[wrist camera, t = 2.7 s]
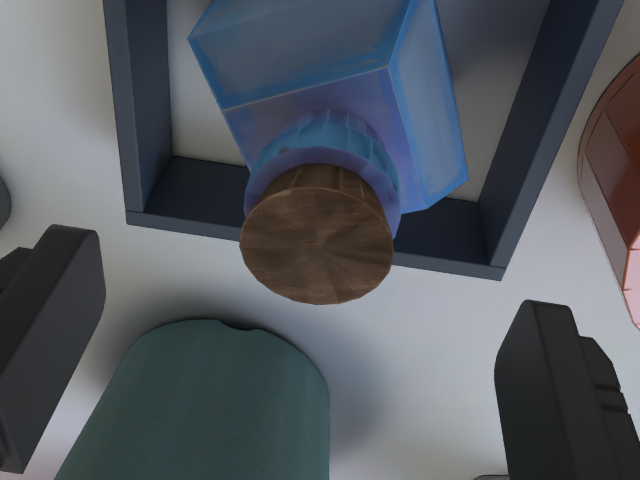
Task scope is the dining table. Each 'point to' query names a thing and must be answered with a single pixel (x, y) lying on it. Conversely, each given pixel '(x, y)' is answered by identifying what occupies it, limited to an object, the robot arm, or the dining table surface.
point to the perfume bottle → (332, 132)
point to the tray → (415, 227)
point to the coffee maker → (493, 478)
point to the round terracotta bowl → (616, 181)
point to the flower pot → (207, 411)
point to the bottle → (4, 204)
